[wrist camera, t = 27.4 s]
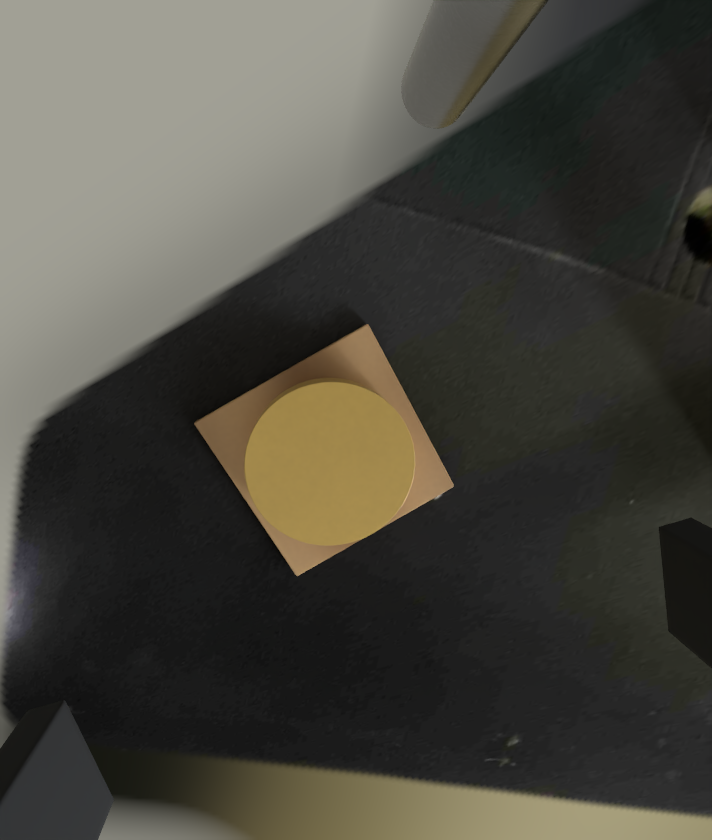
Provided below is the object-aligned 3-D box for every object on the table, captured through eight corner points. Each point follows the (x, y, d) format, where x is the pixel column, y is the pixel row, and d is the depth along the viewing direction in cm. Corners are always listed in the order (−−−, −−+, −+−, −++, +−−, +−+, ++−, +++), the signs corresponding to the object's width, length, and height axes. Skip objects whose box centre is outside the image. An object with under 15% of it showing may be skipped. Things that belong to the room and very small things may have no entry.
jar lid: (272, 550, 27) (270, 565, 25) (225, 402, 25) (219, 407, 23) (422, 507, 27) (430, 520, 26) (388, 359, 25) (394, 362, 23)
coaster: (366, 323, 25) (368, 323, 25) (451, 483, 28) (454, 486, 27) (195, 421, 25) (193, 423, 25) (296, 571, 28) (296, 576, 27)
